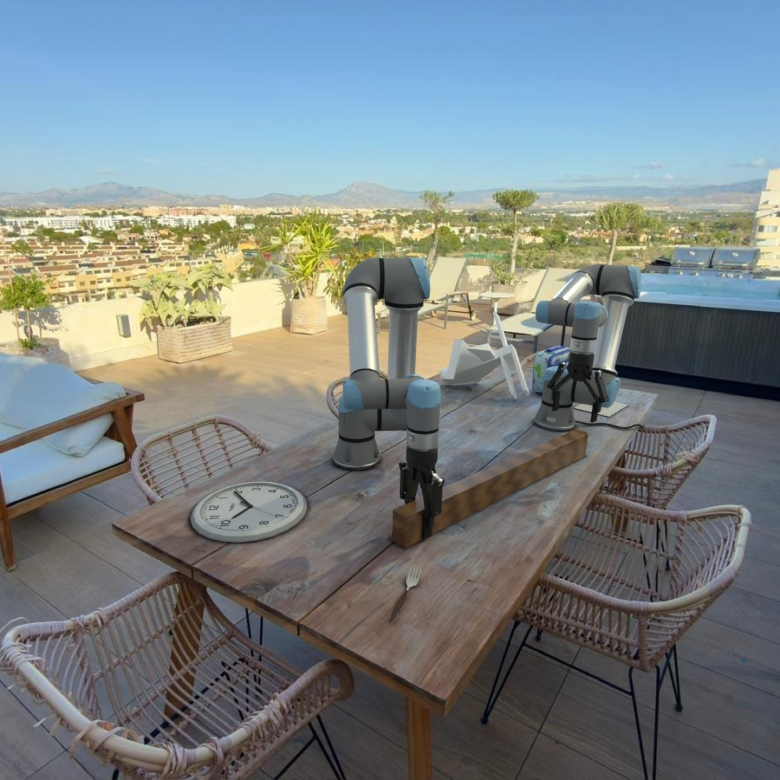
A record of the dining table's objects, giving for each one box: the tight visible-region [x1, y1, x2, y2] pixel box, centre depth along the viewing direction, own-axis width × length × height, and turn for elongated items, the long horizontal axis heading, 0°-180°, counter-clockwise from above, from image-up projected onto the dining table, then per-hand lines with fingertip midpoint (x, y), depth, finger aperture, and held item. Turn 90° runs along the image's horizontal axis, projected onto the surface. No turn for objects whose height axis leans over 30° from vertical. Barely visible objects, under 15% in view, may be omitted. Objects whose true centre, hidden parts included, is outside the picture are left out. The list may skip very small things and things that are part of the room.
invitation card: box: [573, 401, 629, 418], centre depth 226 cm, size 21×1×15 cm
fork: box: [391, 565, 422, 620], centre depth 108 cm, size 3×16×2 cm, turn 160°
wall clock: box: [190, 481, 308, 544], centre depth 139 cm, size 30×2×30 cm
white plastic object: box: [438, 310, 531, 400], centre depth 245 cm, size 37×45×31 cm
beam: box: [391, 428, 589, 549], centre depth 151 cm, size 83×5×8 cm, turn 131°
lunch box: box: [531, 345, 571, 394], centre depth 244 cm, size 26×11×21 cm, turn 135°
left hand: (418, 531), depth 130 cm, fingers closed on beam, 5 cm apart
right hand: (573, 415), depth 169 cm, fingers open, 13 cm apart
